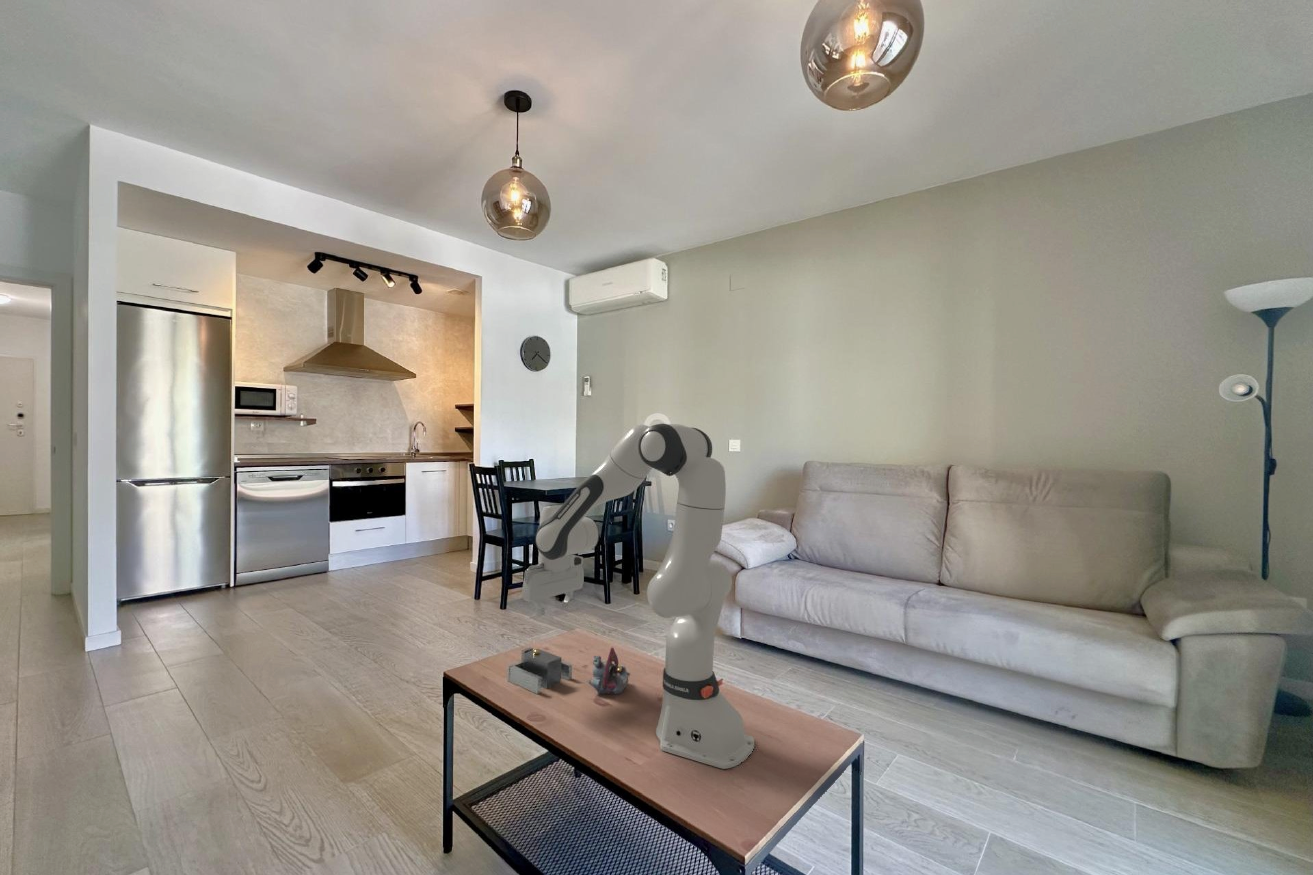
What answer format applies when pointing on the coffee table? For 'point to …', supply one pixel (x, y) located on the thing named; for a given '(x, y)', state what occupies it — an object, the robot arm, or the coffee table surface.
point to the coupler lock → (543, 666)
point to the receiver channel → (530, 679)
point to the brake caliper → (608, 675)
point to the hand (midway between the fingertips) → (553, 611)
